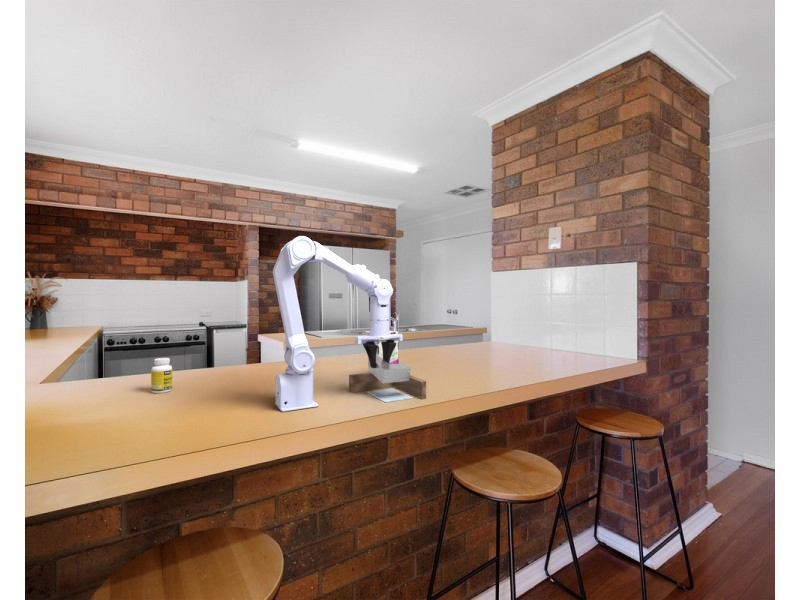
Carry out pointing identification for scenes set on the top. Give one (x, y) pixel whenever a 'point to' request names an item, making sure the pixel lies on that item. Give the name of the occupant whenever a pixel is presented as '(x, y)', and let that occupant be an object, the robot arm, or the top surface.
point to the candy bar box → (395, 354)
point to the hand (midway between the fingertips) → (379, 367)
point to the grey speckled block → (390, 371)
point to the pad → (389, 395)
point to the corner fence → (387, 384)
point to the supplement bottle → (161, 376)
